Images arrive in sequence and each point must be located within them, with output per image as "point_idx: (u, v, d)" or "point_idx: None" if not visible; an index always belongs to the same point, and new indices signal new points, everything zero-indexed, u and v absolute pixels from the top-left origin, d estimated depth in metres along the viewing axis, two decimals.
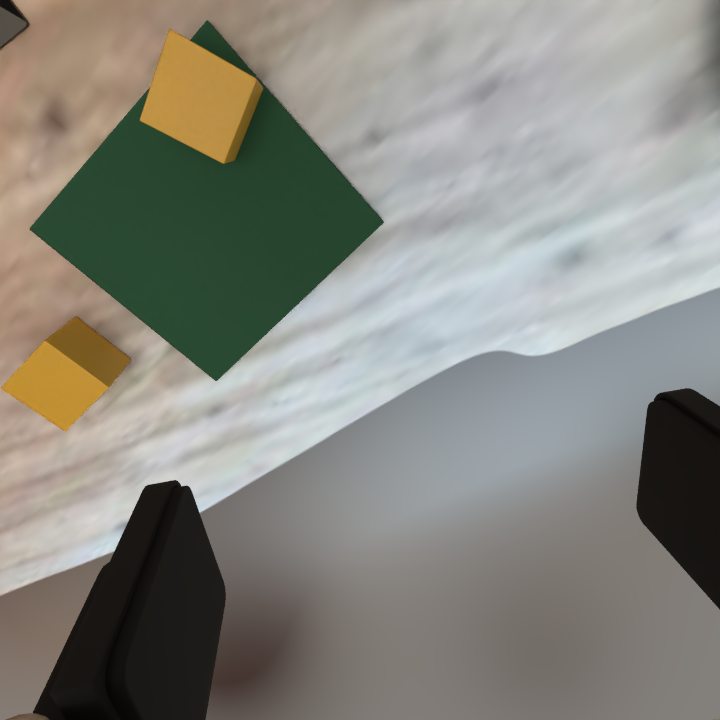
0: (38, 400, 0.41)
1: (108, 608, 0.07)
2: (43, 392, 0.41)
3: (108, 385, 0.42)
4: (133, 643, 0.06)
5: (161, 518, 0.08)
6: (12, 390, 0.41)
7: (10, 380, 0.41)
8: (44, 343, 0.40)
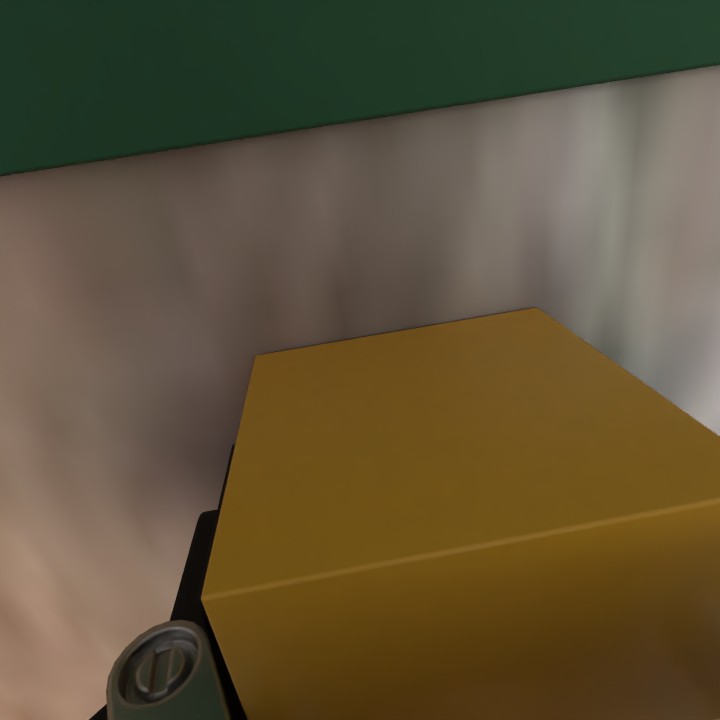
0: None
1: None
2: None
3: None
4: None
5: None
6: None
7: None
8: (219, 613, 0.05)
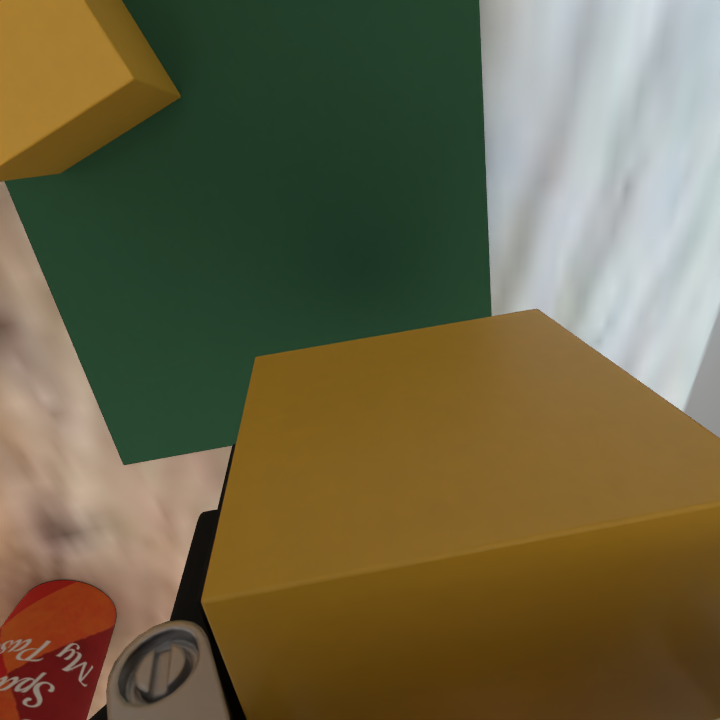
0: None
1: None
2: None
3: None
4: None
5: None
6: None
7: None
8: (219, 616, 0.05)
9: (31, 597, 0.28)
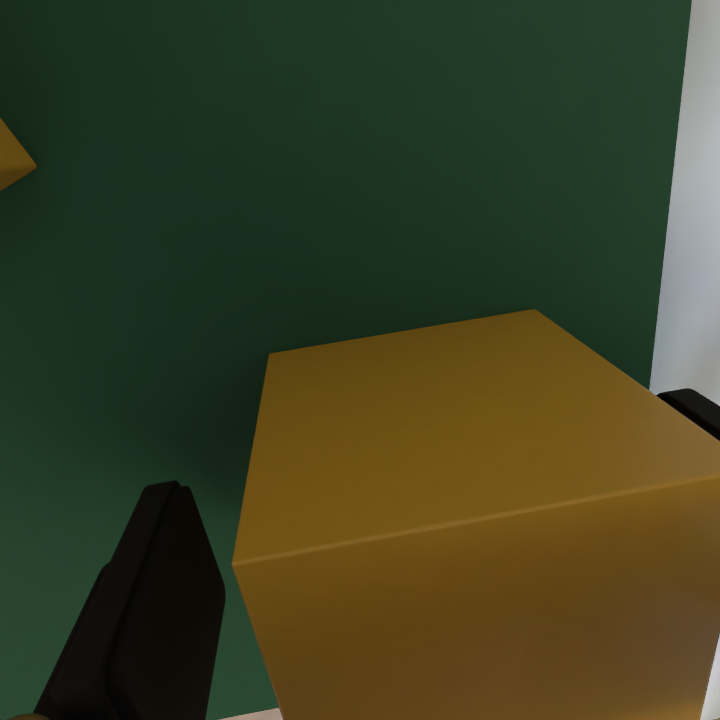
0: None
1: (108, 608, 0.07)
2: None
3: None
4: (133, 643, 0.06)
5: (161, 518, 0.08)
6: None
7: None
8: (247, 578, 0.05)
9: None
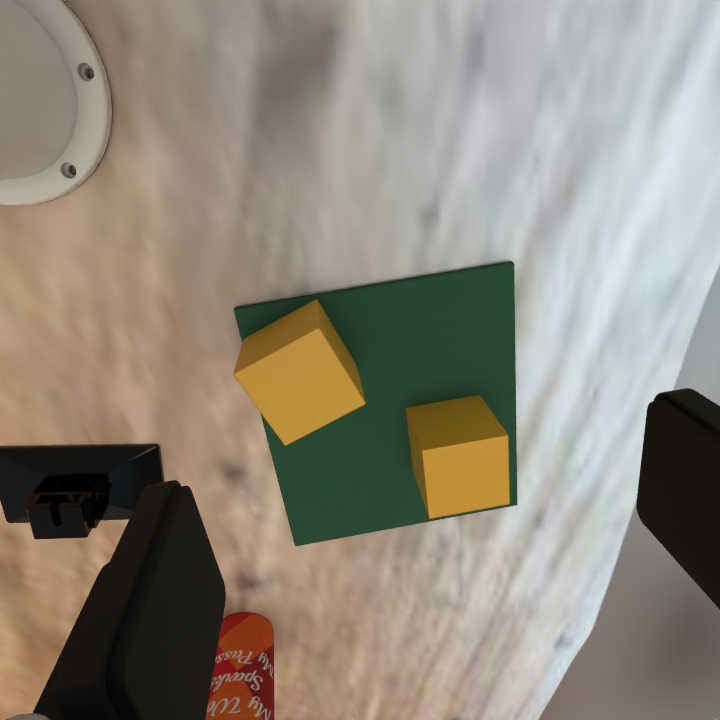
0: (465, 500, 0.36)
1: (109, 608, 0.07)
2: (462, 490, 0.35)
3: (505, 434, 0.34)
4: (133, 643, 0.06)
5: (161, 518, 0.08)
6: (438, 511, 0.36)
7: (430, 506, 0.36)
8: (424, 453, 0.34)
9: (229, 624, 0.46)
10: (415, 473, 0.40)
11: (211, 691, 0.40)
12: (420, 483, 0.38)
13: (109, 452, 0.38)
